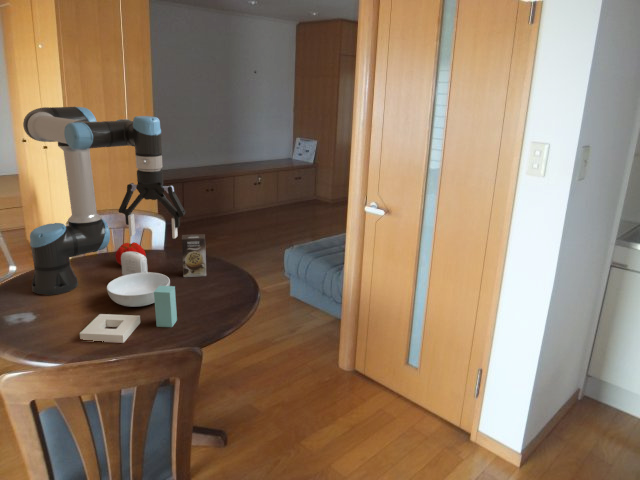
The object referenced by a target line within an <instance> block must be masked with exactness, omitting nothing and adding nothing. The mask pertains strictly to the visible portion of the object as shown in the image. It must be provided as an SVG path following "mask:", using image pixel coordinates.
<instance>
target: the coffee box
mask: <svg viewBox="0 0 640 480" xmlns="http://www.w3.org/2000/svg"><path fill="white" fill-rule="evenodd" d="M181 243H182V244H181V249H182V269H183V270H182V273H183V274H182V276H183V278H192V277H194V278H197V277H198V278H199V277H207V257H206V255H207V253H206V234H205V233H203V234H202V233H201V234H196V233H195V234H182V235H181Z"/></svg>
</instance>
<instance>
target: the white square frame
mask: <svg viewBox="0 0 640 480" xmlns="http://www.w3.org/2000/svg"><path fill="white" fill-rule="evenodd" d="M140 324H141V315H134V314H133V315H129V314H111V313H107V314H106V313H99V314H98V315H97V316H96V317H95V318H94V319H93V320H91V322H90V323H89V324H88V325H87V326H85V327H84V329H83V330H81V331H80V332H79V338H80V339H83V340H93V341H92V342H94V341H102V343H121V344H124V343H125V342H126V341H127V339H128V338H129V337H131V335H132V334H133V332H134V331H135V330H136V329H137V327H138V326H139V325H140ZM109 327H110V328H109ZM111 327H112V328H111ZM80 339H79V340H80ZM103 341H104V342H103Z"/></svg>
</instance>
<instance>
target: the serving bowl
mask: <svg viewBox="0 0 640 480" xmlns="http://www.w3.org/2000/svg"><path fill="white" fill-rule="evenodd" d="M159 286H171V280H170V278H169V277H168V276H167V275H165V274H162V273H159V272H152V271H151V272H150V271H148V272H143V273H134V274H128V275H124V276H122V275H121V276H119V277H117V278H114V279H113V280H111V281H110V282H108V284H107V286H106V292H107V294H108V296H109V298H110V299H111V300H112V301H113V303H116V304H118V305H121V306H123V307H134V308H135V307H145V306H148V305H151V304H155V300H154V291H155V290H156V289H157V288H158V287H159Z"/></svg>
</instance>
